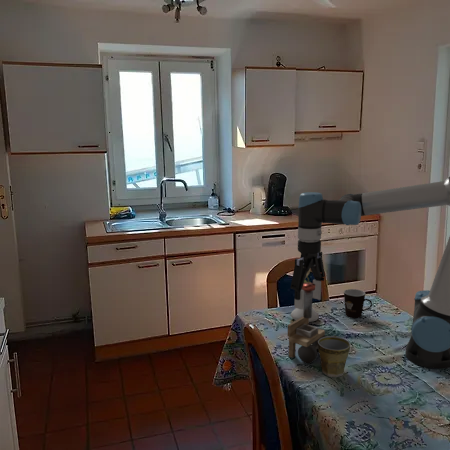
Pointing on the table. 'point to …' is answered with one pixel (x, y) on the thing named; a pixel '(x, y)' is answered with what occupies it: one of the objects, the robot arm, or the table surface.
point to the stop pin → (308, 299)
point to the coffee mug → (354, 303)
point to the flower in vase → (298, 312)
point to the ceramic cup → (333, 355)
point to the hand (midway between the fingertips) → (307, 303)
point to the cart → (304, 339)
